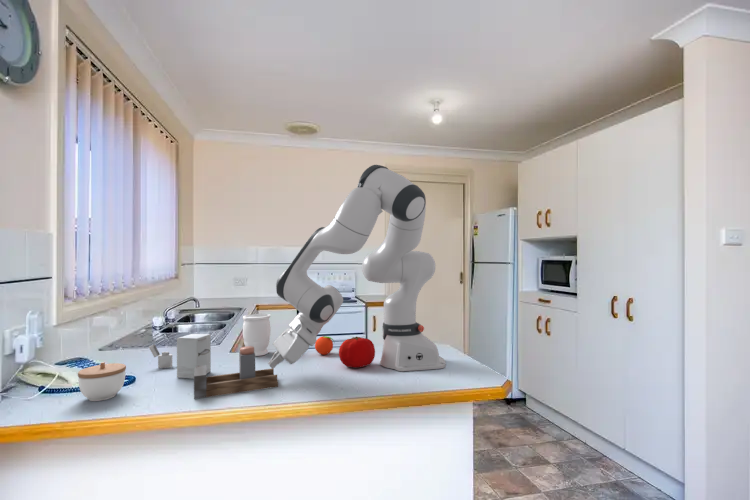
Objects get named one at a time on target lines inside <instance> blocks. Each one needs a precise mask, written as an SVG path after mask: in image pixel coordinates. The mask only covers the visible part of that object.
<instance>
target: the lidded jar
mask: <svg viewBox="0 0 750 500" xmlns="http://www.w3.org/2000/svg"><path fill="white" fill-rule="evenodd" d="M126 370H127V365H126V364H124V363H115V362H114V363H106V362H104V361H103V362H102V361H101V362H100V363H99V364H97V365H92V366H88V367H85V368H82V369H80V370H79V371H78V373H77V377H78V387H79V391H80V393H81V394H82V396H84V397H85V399H86V398H87V399H88V401H90V402H100V401H106V400H110V399H113V398H114V397H116V396H117V394H118V393H119V392H120V390H122V388H123V386H124V384H125V380H126Z"/></svg>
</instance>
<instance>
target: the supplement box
mask: <svg viewBox="0 0 750 500" xmlns="http://www.w3.org/2000/svg"><path fill="white" fill-rule="evenodd" d="M211 340H212V339H211V334H209V333H190V334H186V335H184V336H180V337H177V338H176V378H178V379H179V378H180V379H193V380H194V372H195V367H197V366H206V371H207V374H209V373H211V365H212V364H211V363H212V359H211V354H212V353H211V350H212V349H211V347H212V346H211Z"/></svg>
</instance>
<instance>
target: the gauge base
mask: <svg viewBox="0 0 750 500" xmlns="http://www.w3.org/2000/svg"><path fill="white" fill-rule="evenodd" d="M274 369H275V368H266V369H257V370H256V369H255V378H247V379H240V372H235V373H233V372H232V373H225V374H217V375H211V376H207V374H208V373H207V371H206V366H197V367H195V372H194V379H193V399H194V400H196V399H202V398H210V397H215V396H217V397H218V396H223V395H224V396H225V395H230V394H238V393H243V392H244V393H245V392H250V391H258V390H264V389H271V388H272V389H273V388H279V381H278V374H275V373H274V372H275V371H274Z"/></svg>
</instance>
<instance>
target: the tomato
mask: <svg viewBox="0 0 750 500" xmlns="http://www.w3.org/2000/svg"><path fill="white" fill-rule="evenodd" d="M365 337H366V336H355V337H354V336H353V337H351V338H347V339H345V340H344V341H343V342H342V343H341V345H340V346H339V349H338V357H339V360H340V361H341V363H342V364H343V365H344V366H346V367H347V368H354V369H355V368H357V369H358V368H364V367H366V366H368V365H371V364H372V363H373V361H374V359H375V357H376V356H375V355H376V348H375V344H374V342H373V341H372V340H371V339H370V338H365Z"/></svg>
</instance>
